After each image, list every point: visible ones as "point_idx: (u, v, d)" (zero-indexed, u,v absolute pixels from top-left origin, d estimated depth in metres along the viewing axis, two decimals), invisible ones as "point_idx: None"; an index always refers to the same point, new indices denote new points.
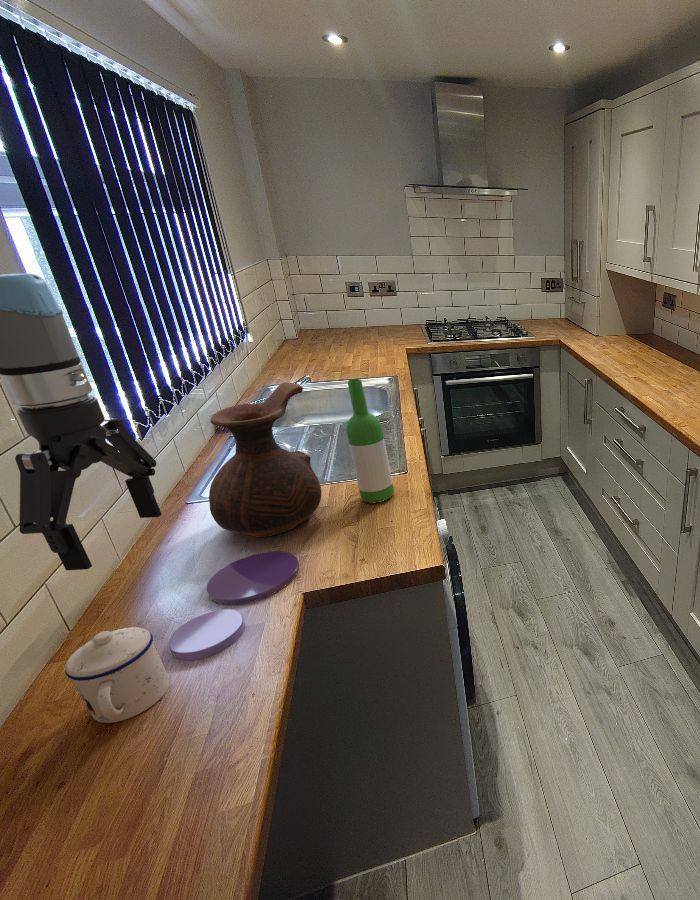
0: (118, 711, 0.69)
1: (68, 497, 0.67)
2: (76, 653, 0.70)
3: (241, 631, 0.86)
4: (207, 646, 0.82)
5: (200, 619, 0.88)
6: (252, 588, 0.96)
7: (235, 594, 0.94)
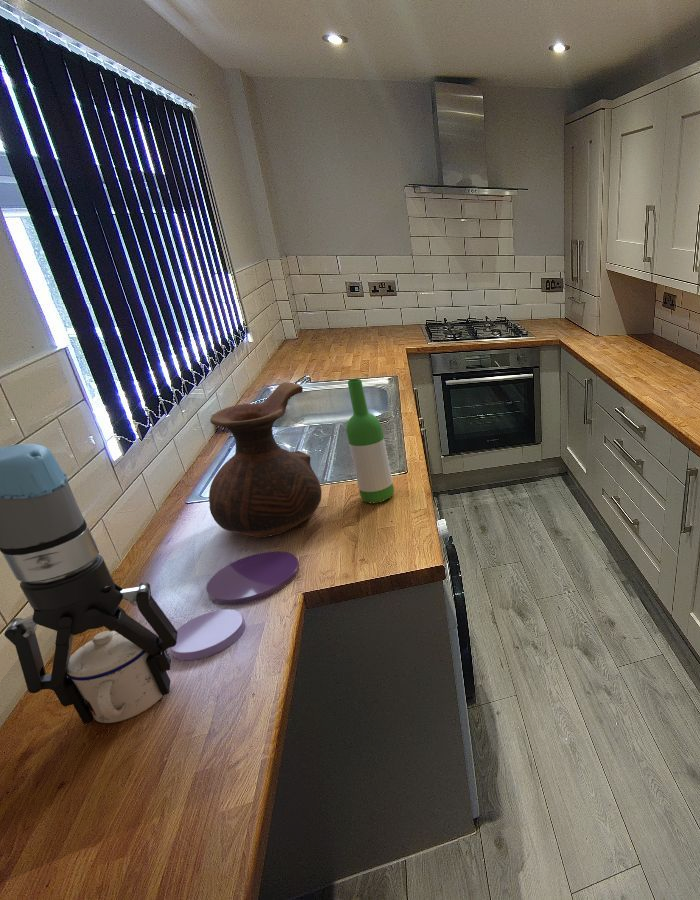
0: (118, 711, 0.69)
1: (62, 662, 0.67)
2: (76, 653, 0.70)
3: (241, 631, 0.86)
4: (207, 646, 0.82)
5: (200, 619, 0.88)
6: (252, 588, 0.96)
7: (235, 594, 0.94)
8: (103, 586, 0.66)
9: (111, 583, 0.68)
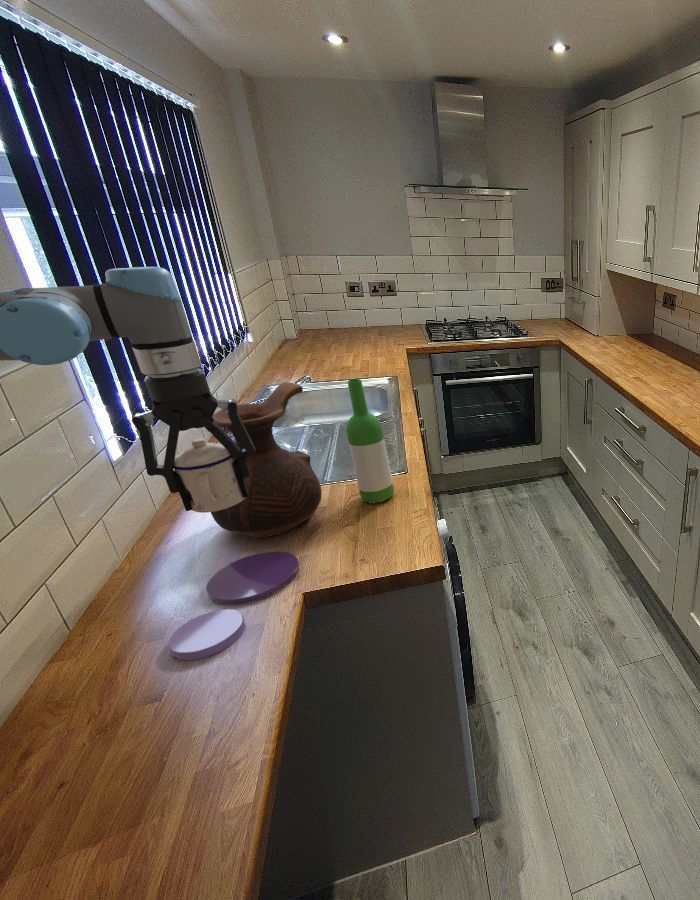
0: (214, 497, 0.86)
1: (172, 452, 0.84)
2: (178, 454, 0.87)
3: (241, 631, 0.86)
4: (207, 646, 0.82)
5: (200, 619, 0.88)
6: (252, 588, 0.96)
7: (235, 594, 0.94)
8: (205, 390, 0.83)
9: (209, 392, 0.85)
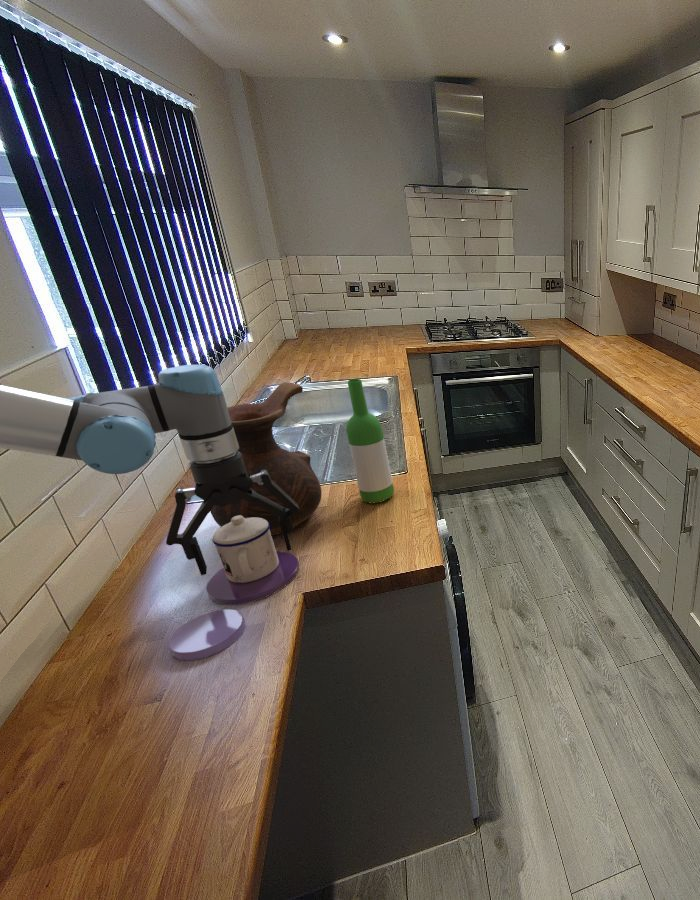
0: (251, 570, 0.95)
1: (197, 525, 0.91)
2: (218, 530, 0.96)
3: (241, 631, 0.86)
4: (207, 646, 0.82)
5: (200, 619, 0.88)
6: (252, 588, 0.96)
7: (235, 594, 0.94)
8: (242, 471, 0.92)
9: (246, 471, 0.93)
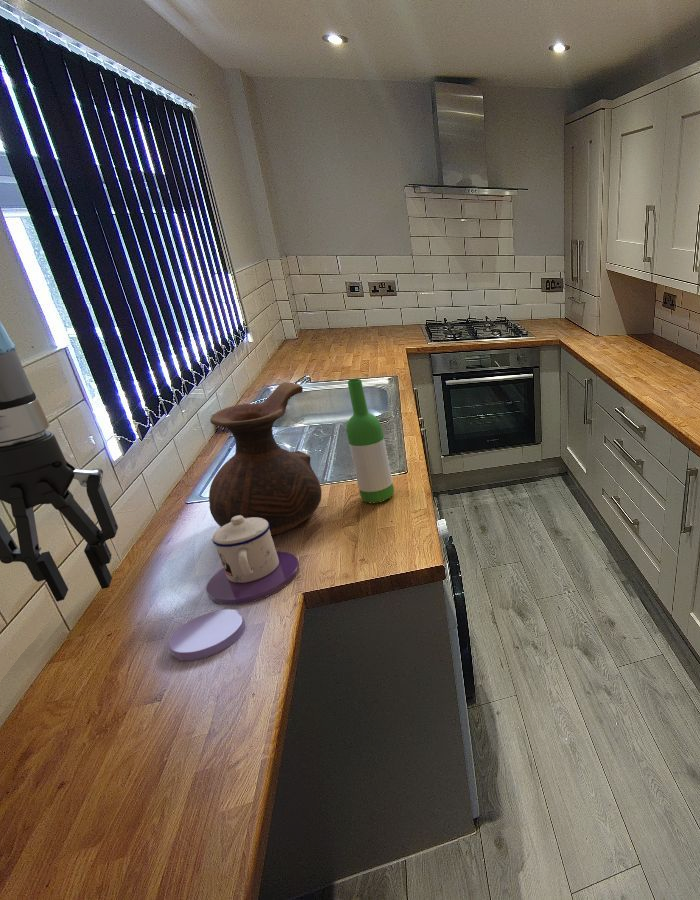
0: (251, 570, 0.95)
1: (27, 534, 0.68)
2: (218, 530, 0.96)
3: (241, 631, 0.86)
4: (207, 646, 0.82)
5: (200, 619, 0.88)
6: (252, 588, 0.96)
7: (235, 594, 0.94)
8: (53, 459, 0.67)
9: (62, 459, 0.69)
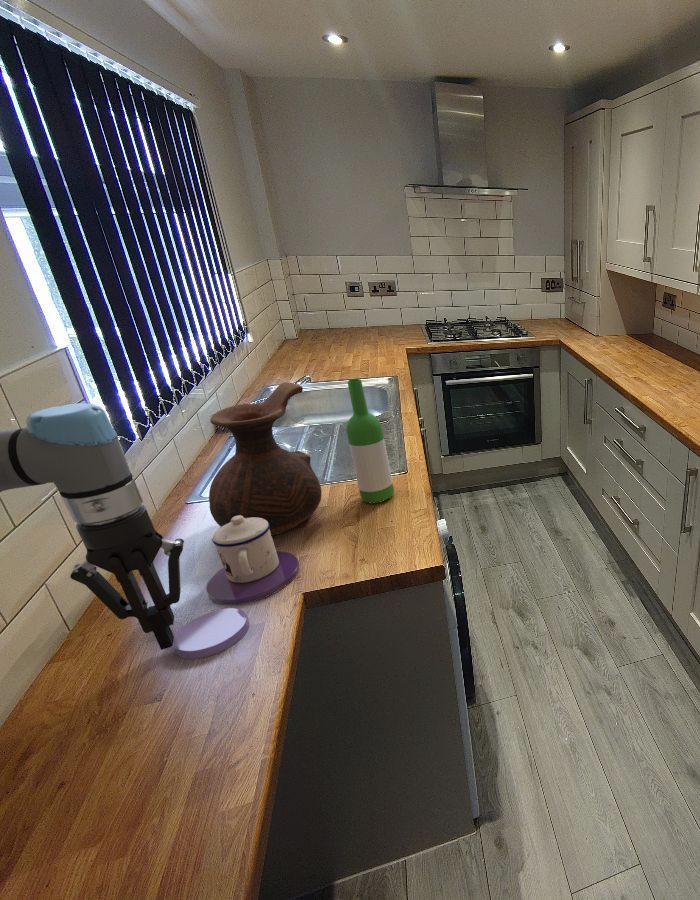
0: (251, 570, 0.95)
1: (133, 594, 0.77)
2: (218, 530, 0.96)
3: (245, 630, 0.87)
4: (212, 644, 0.82)
5: (204, 617, 0.88)
6: (252, 588, 0.96)
7: (235, 594, 0.94)
8: (146, 531, 0.75)
9: (153, 529, 0.77)
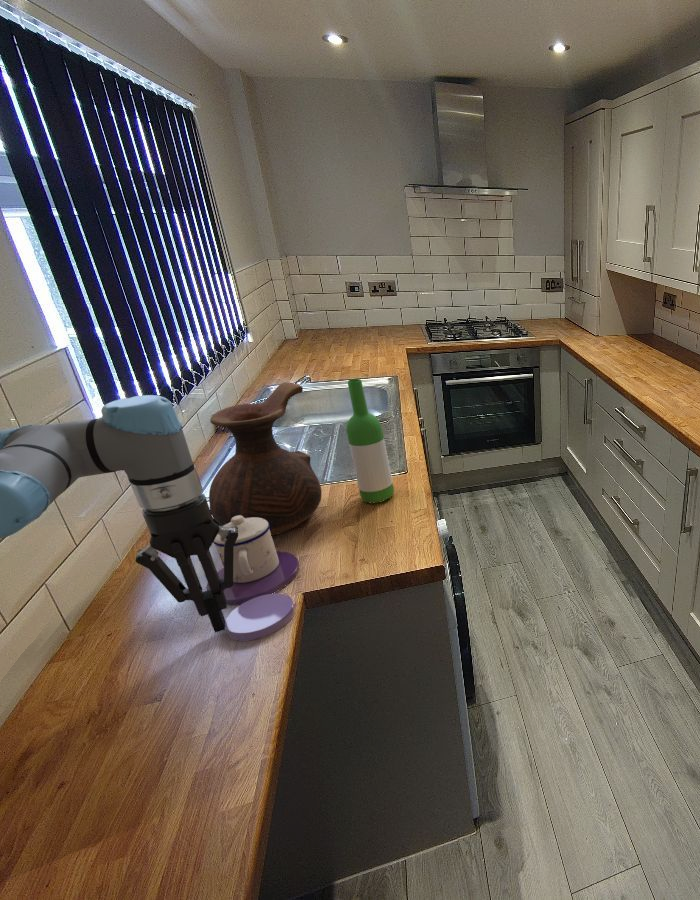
0: (251, 570, 0.95)
1: (191, 578, 0.81)
2: None
3: (292, 614, 0.90)
4: (262, 627, 0.86)
5: (252, 602, 0.92)
6: (252, 588, 0.96)
7: (235, 594, 0.94)
8: (206, 518, 0.79)
9: (211, 516, 0.80)
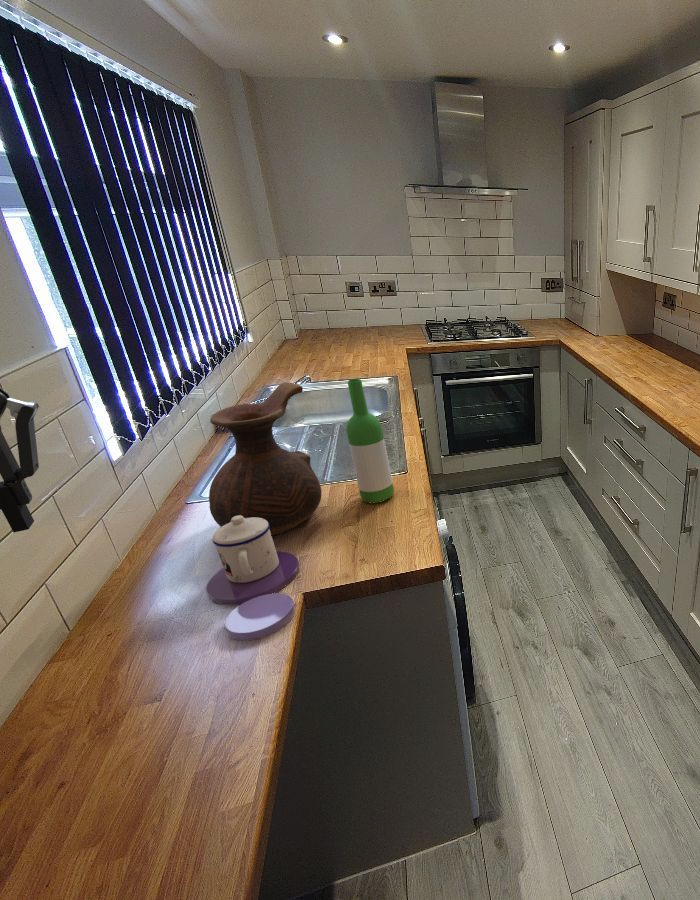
0: (251, 570, 0.95)
1: None
2: (218, 530, 0.96)
3: (292, 614, 0.90)
4: (262, 627, 0.86)
5: (252, 602, 0.92)
6: (252, 588, 0.96)
7: (235, 594, 0.94)
8: None
9: None
